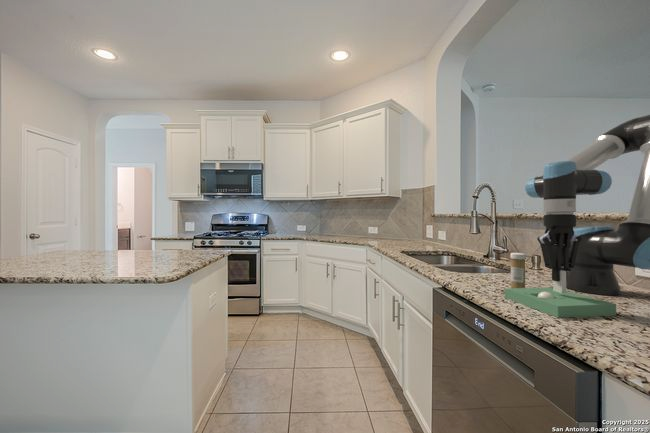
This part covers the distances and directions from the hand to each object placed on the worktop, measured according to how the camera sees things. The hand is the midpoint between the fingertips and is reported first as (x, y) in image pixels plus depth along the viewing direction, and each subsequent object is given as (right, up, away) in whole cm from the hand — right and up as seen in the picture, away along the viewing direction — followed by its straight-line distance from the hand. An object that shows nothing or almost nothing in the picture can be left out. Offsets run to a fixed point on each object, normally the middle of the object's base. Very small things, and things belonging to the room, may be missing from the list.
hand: (559, 291), depth 83 cm
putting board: (-2, -4, 0) cm, 4 cm away
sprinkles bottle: (-1, -4, +17) cm, 18 cm away
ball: (-5, -2, -1) cm, 5 cm away
